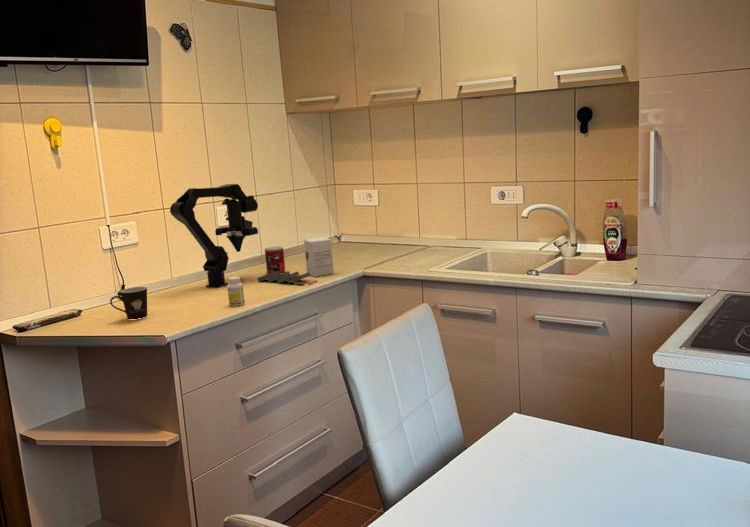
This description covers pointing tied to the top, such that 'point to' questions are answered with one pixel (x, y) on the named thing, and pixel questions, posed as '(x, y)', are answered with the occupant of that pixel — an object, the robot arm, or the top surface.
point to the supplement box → (319, 256)
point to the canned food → (275, 259)
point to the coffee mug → (133, 302)
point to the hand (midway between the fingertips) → (238, 251)
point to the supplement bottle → (235, 291)
